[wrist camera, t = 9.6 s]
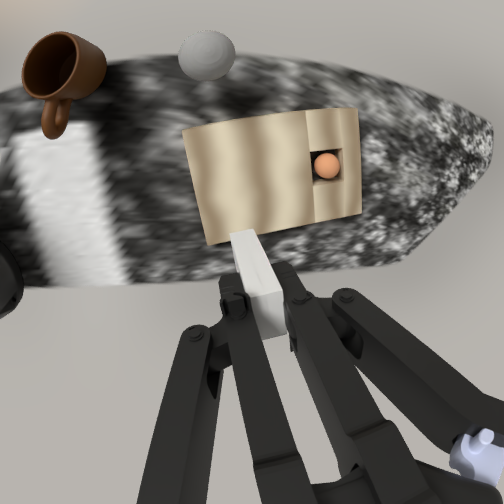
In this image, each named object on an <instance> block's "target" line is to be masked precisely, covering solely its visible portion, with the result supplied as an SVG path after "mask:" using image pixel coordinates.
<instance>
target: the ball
mask: <svg viewBox="0 0 504 504" xmlns="http://www.w3.org/2000/svg"><path fill="white" fill-rule="evenodd" d="M314 167H315V171H316V172H317V174H318V175H319V176H321V177H323V178H332V177H334V176H336V175H337V174H338V172H339V169H340V163H339V161H338V159H337V158H336V157H335V156H334V155H332V154H330V153H323V154H321V155H319V156H318V157H317V158H316V160H315V163H314Z"/></svg>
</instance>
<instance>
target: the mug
mask: <svg viewBox="0 0 504 504" xmlns="http://www.w3.org/2000/svg"><path fill="white" fill-rule="evenodd" d="M106 69H107V62H106V58H105V55H104V53H103V52H102V51H101V50H100V49H99V48H98V47H97V46H95V45H93V44H92V43H90V42H88V41H86V40H85V39H83V38H81V37H79V36H77V35H74V34H71V33H68V32H54V33H51V34H49V35H47V36H45V37H43V38H42V39H41V40H39V41H38V42H37V43H36V44H35V45H34V46H33V48H32V49H31V50H30V51H29V53H28V55H27V57H26V59H25V61H24V64H23V68H22V83H23V87H24V89H25V90H26V92H27V93H28V94H29V95H30V96H32V97H33V98H36V99H43V100H45V105H44V109H43V113H42V119H41V123H42V130H43V133H44V135H45V136H46V137H47V138H49V139H57V138H59V137H60V136H61V135H62V134H63V133H64V131H65V129H66V126H67V123H68V119H69V110H70V106H71V103H72V100H76V99H81V98H84V97H86V96H88V95H90V94H91V93H92V92H94V91H95V90H96V89H97V88H98V87H99V85H100V84H101V83H102V81H103V79H104V76H105V73H106Z"/></svg>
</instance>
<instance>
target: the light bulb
mask: <svg viewBox="0 0 504 504" xmlns="http://www.w3.org/2000/svg"><path fill="white" fill-rule="evenodd" d="M234 60H235V48H234V46H233V43H232V42H231V40H230V39H229V38H228V37H226V36H225V35H223V34H222V33H219V32H216V31H200V32H197V33H195V34H193V35H191V36H190V37H188V38H187V39H186V40H185V41H184V43H183V44H182V45H181V48H180V50H179V63H180V66H181V68H182V70H183V71H184V73H185V74H186V75H188V76H189V77H191V78H193V79H195V80H198V81H212V80H216V79H218V78H220V77H222V76H224V75H225V74H226V73H227V72H228V71H229V70H230V69H231V67H232V65H233V63H234Z"/></svg>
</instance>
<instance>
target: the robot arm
mask: <svg viewBox="0 0 504 504" xmlns="http://www.w3.org/2000/svg"><path fill="white" fill-rule="evenodd" d="M229 235H230V240H231V245H232V249H233V254H234V259H235V264H236V269H237V273H233V274H229V275H224V276H221V278H220V280H219V282H218V283H219V289H220V294H221V299H220V307H221V311H222V314H223V317H222V319H221V320H220V321H219V322H218V323H217V324H215V325H214V326H212V327H210V328H208V327H206V326H204V325H193V326H191V327H188V328H187V329H186V330H185V331H183V333H182V335H181V338H180V341H179V344H178V348H177V351H176V354H175V357H174V361H173V365H172V368H171V371H170V375H169V378H168V382H167V385H166V389H165V392H164V396H163V399H162V403H161V406H160V410H159V414H158V417H157V421H156V425H155V429H154V433H153V437H152V441H151V444H150V448H149V452H148V456H147V460H146V465H145V469H144V473H143V477H142V481H141V486H140V490H139V495H138V499H137V504H206V500H207V492H208V484H209V476H210V468H211V460H212V453H213V446H214V438H215V431H216V423H217V416H218V408H219V402H220V394H221V387H222V380H223V373H224V370H223V369H225V368H227V367H229V366H230V365H232V366H233V371H234V376H235V381H236V386H237V391H238V395H239V401H240V405H241V410H242V415H243V419H244V423H245V428H246V433H247V437H248V442H249V445H250V450H251V455H252V458H253V468H254V473H255V478H256V482H257V486H258V490H259V494H260V498H261V502H262V504H503V501H502V497H501V494H500V492H499V491H498V490H497V489H496V488H495V487H496V485H497V482H498V480H499V478H500V475H501V472H502V470H503V467H504V401H502V400H499V399H497V398H494V397H491V396H489V395H486V394H484V393H482V392H481V391H480V390H479V389H478V388H477V387H475V386H474V385H473V384H472V383H471V382H469V381H468V380H467V379H466V378H465V377H464V376H462V375H461V374H460V373H459V372H458V371H457V370H455V369H454V368H453V367H451V365H449V364H448V363H447V362H446V361H445V360H443V359H442V358H441V357H440V356H439V355H437V354H436V353H435V352H434V351H432V350H431V349H430V348H429V347H428V346H426V345H425V344H424V343H422V342H421V341H420V340H419V339H417V338H416V337H415V336H414V335H413V334H411V333H410V332H409V331H408V330H406V329H405V328H404V327H403V326H401V325H400V324H399V323H398V322H396V321H395V320H394V319H393V318H391V317H390V316H389V315H387V314H386V313H385V312H384V311H382V310H381V309H380V308H378V307H377V306H376V305H374V304H373V303H372V302H371V301H369V300H368V299H367V298H365V297H364V296H363V295H362V294H360V293H359V292H358V291H356V290H354V289H351V288H341V289H338V290H337V291H335V292H334V293H333V295H332V298H318V297H315V296H314V295H313V294H312V293H311V292H309V291H306V289H305V287H304V286H303V284H302V283H301V281H300V279H299V277H298V276H297V274H296V272H295V271H294V269H293V267H292V265H291V264H289V263H287V262H286V261H283V262H278V263H274V264H270V263H269V260H268V258H267V256H266V254H265V252H264V250H263V248H262V246H261V244H260V242H259V240H258V238H257V235H256V233H255V231H254V229H248V230H243V231H239V232H234V233H230V234H229ZM23 291H24V285H23V278H22V275H21V271H20V269H19V266H18V264H17V262H16V260H15V259H14V257H13V255H12V254H11V253H10V251H9V250H8V249H7V248H6V247H5V245H3V244H2V243H1V242H0V319H1V318H3V317H4V316H6V315H7V314H9V313H10V312H12V311H13V310H14V309H15V308H16V306H17V305H18V303H19V302H20V300H21V298H22V296H23ZM286 328H287V329H286ZM287 330H288V332H289V338H290V350H291V352H292V351H294V353H295V356H296V358H297V360H298V363H299V366H300V368H301V371H302V373H303V375H304V378H305V380H306V383H307V385H308V388H309V390H310V393H311V395H312V398H313V400H314V403H315V405H316V408H317V410H318V413H319V415H320V418H321V420H322V423H323V425H324V428H325V430H326V433H327V435H328V438H329V440H330V442H331V445H332V448H333V450H334V453H335V455H336V457H337V461H338V468H339V472H340V475H341V479H340V480H338V481H336V482H330V483H321V484H310V481H309V478H308V475H307V472H306V469H305V466H304V463H303V461H302V458H301V456H300V454H299V452H298V450H297V448H296V444H295V442H294V439H293V435H292V432H291V429H290V426H289V423H288V420H287V417H286V414H285V411H284V408H283V405H282V402H281V399H280V396H279V393H278V390H277V387H276V383H275V381H274V377H273V374H272V371H271V368H270V364H269V361H268V358H267V355H266V352H265V349H264V346H263V342H262V340H265V339H269V338H273V337H277V336H281V335H285V334H287ZM355 366H356V367H357V368H358V369H359V370H360V371H361V372H362V373H363V374H365V376H366V377H367V378H368V379H369V380H370V381H371V382H372V383H373V384H374V385H375V386H376V387H377V388H378V389H379V390H380V391H381V392H382V393H383V394H384V395H385V396H386V397H387V398H388V399H389V400H390V401H391V402H392V403H393V404H394V405H395V406H396V407H397V408H398V409H399V410H400V411H401V412H402V413H403V414H404V415H405V416H406V417H407V418H408V419H409V420H410V421H411V422H412V423H413V424H414V425H415V426H416V427H417V428H418V429H419V430H420V431H421V432H422V433H423V434H424V435H425V436H426V437H427V438H428V439H429V440H430V441H431V442H432V443H433V444H434V445H436V446H437V447H438V448H440V449H441V450H443V451H444V452H446V453H448V454H450V461H449V465H450V467H451V468H453V469H456V470H458V471H459V472H460V474H461V476H460V475H457V474H454V473H451V472H448V471H445V470H442V469H440V468H437V467H434V466H432V465H429V464H426V463H424V462H421V461H419V460H415V459H414V458H413V456H412V454H411V452H410V450H409V448H408V446H407V445H406V443H405V441H404V439H403V437H402V435H401V433H400V432H399V430H398V428H397V426H396V425H395V424H394V423H393V422H392V421H391V420H386V419H385V418H384V417H383V415H382V414H381V412H380V410H379V408H378V406H377V405H376V403H375V401H374V399H373V397H372V395H371V394H370V392H369V390H368V388H367V386H366V385H365V383H364V381H363V379H362V378H361V376H360V374H359V372H358V370H357V369H356V367H355Z"/></svg>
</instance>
